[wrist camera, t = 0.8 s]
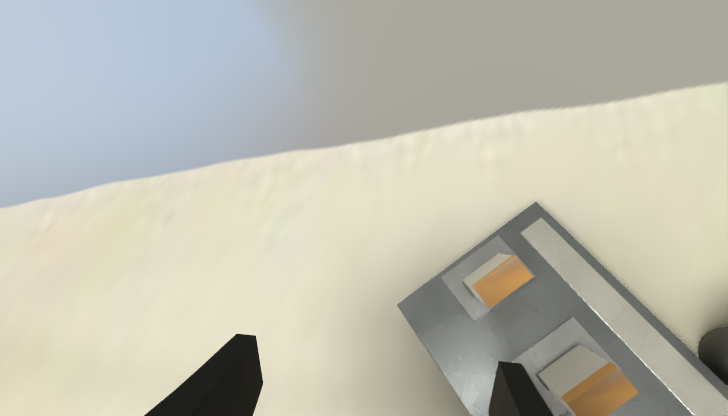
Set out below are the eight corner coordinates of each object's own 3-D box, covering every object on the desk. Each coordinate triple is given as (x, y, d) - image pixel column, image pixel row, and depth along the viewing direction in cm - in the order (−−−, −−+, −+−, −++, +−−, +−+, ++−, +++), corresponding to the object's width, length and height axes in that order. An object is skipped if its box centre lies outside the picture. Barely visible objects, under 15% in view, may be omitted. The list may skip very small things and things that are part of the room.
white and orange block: (590, 358, 20) (640, 391, 16) (546, 390, 20) (584, 430, 16) (574, 338, 20) (620, 365, 16) (530, 370, 21) (565, 405, 16)
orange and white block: (510, 268, 23) (534, 275, 19) (472, 296, 23) (487, 309, 19) (496, 251, 23) (518, 254, 19) (459, 279, 23) (471, 288, 19)
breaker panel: (775, 451, 19) (813, 462, 16) (588, 581, 19) (599, 609, 17) (533, 213, 26) (536, 198, 24) (403, 309, 27) (394, 303, 25)
